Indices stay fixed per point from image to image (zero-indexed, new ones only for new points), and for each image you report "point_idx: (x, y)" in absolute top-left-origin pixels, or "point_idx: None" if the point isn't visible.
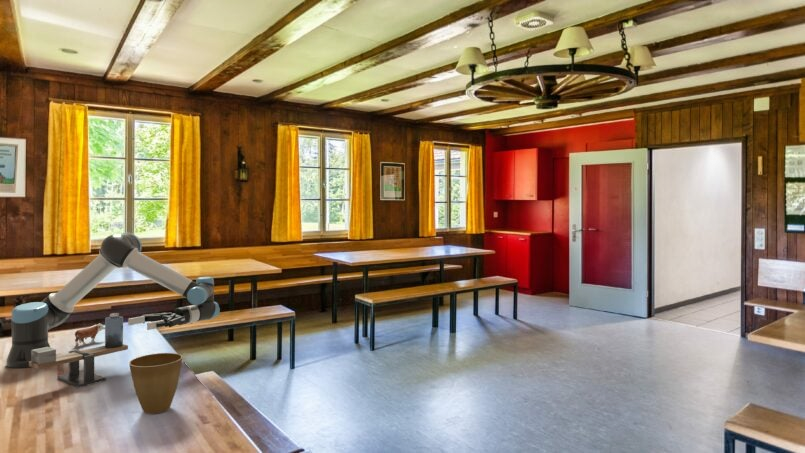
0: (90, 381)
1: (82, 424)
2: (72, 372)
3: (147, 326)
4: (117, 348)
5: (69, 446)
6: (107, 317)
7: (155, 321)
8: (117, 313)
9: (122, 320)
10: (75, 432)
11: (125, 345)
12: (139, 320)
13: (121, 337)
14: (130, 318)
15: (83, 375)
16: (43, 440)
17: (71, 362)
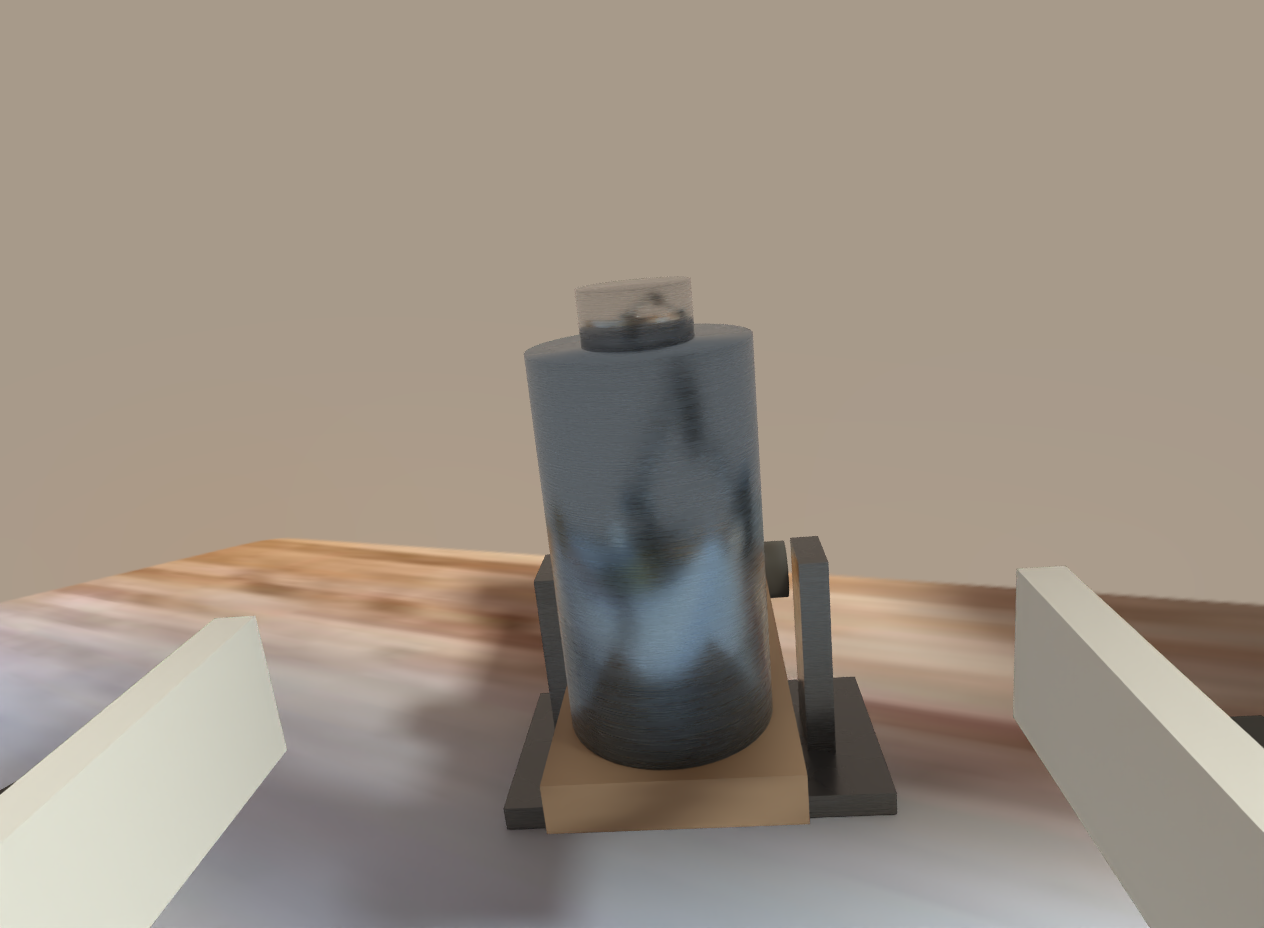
0: (529, 736)
1: (128, 625)
2: (800, 704)
3: (259, 685)
4: (561, 711)
5: (64, 587)
6: (723, 327)
7: (125, 726)
8: (616, 288)
9: (543, 405)
10: (110, 607)
11: (572, 774)
12: (1147, 823)
13: (564, 631)
14: (1062, 586)
15: None
16: (187, 569)
17: (795, 625)
